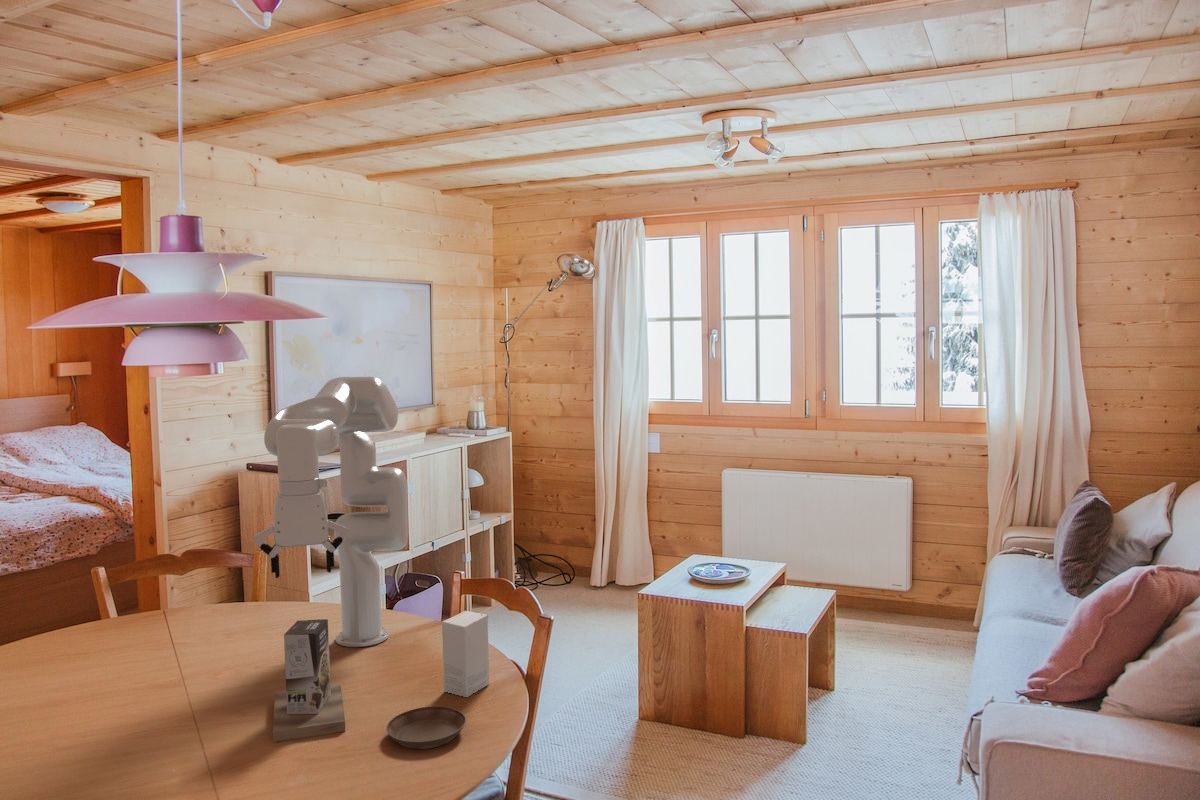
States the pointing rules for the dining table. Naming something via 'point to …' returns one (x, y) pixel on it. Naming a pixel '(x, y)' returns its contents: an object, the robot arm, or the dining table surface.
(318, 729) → the grey-brown rectangular board
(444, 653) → the skincare box
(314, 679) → the coffee box
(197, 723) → the dining table surface
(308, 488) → the robot arm
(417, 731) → the saucer
